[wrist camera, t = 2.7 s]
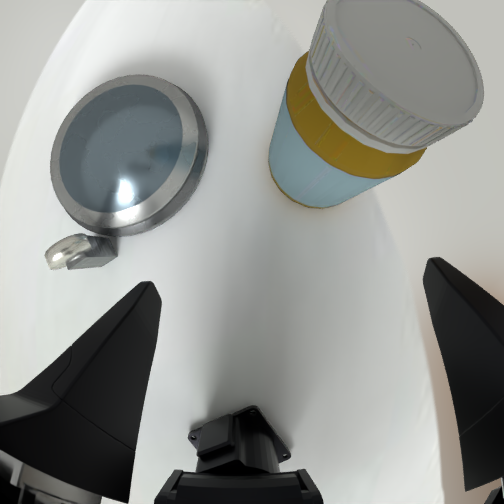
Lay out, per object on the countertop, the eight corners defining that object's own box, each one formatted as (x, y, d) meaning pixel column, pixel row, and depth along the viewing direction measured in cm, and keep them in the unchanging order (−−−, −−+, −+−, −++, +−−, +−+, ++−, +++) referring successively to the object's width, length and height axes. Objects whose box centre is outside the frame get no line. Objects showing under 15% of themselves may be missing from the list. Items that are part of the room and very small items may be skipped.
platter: (229, 172, 20) (228, 168, 19) (87, 259, 20) (80, 259, 19) (161, 58, 20) (158, 50, 19) (43, 135, 19) (36, 131, 18)
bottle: (286, 109, 22) (337, -43, 7) (366, 145, 22) (488, 44, 7) (252, 187, 21) (275, 62, 6) (340, 224, 22) (488, 182, 7)
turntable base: (241, 183, 21) (241, 151, 14) (95, 270, 21) (43, 277, 14) (167, 60, 21) (148, 8, 14) (45, 139, 21) (-1, 112, 14)
